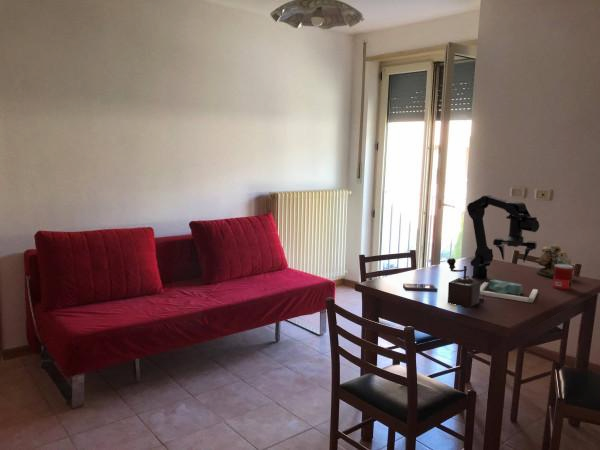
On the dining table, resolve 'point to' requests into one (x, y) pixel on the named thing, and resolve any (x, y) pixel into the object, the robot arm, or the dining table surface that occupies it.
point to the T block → (505, 287)
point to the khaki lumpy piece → (551, 260)
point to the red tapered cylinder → (562, 276)
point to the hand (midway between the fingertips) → (513, 260)
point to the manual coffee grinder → (462, 288)
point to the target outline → (506, 296)
